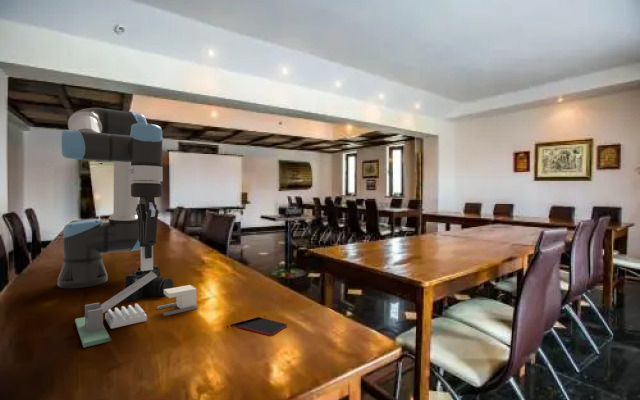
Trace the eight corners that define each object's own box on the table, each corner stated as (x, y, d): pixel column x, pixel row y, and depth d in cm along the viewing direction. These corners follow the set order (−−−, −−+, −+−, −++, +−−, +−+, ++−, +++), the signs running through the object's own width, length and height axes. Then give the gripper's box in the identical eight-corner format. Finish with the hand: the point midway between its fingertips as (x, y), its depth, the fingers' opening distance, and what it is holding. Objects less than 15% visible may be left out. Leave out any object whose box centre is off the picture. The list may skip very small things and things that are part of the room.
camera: (150, 307, 100) (150, 273, 100) (120, 304, 102) (120, 271, 102) (179, 293, 114) (179, 264, 114) (151, 291, 116) (151, 262, 116)
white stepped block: (163, 308, 96) (163, 289, 95) (190, 303, 101) (190, 284, 100) (169, 313, 92) (169, 293, 92) (196, 307, 97) (196, 288, 97)
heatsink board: (75, 322, 87) (75, 300, 87) (184, 300, 106) (184, 281, 106) (83, 347, 74) (83, 320, 74) (206, 317, 92) (207, 296, 92)
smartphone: (271, 334, 81) (224, 322, 88) (271, 338, 81) (224, 325, 88) (288, 324, 87) (243, 313, 94) (288, 327, 87) (243, 316, 94)
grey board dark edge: (93, 320, 81) (90, 316, 80) (91, 315, 84) (88, 312, 83) (157, 277, 90) (155, 273, 90) (153, 274, 93) (151, 270, 93)
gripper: (125, 182, 92) (125, 267, 93) (137, 181, 82) (137, 276, 83) (155, 183, 97) (155, 263, 97) (169, 182, 87) (169, 272, 88)
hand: (146, 269), depth 90 cm, fingers closed
